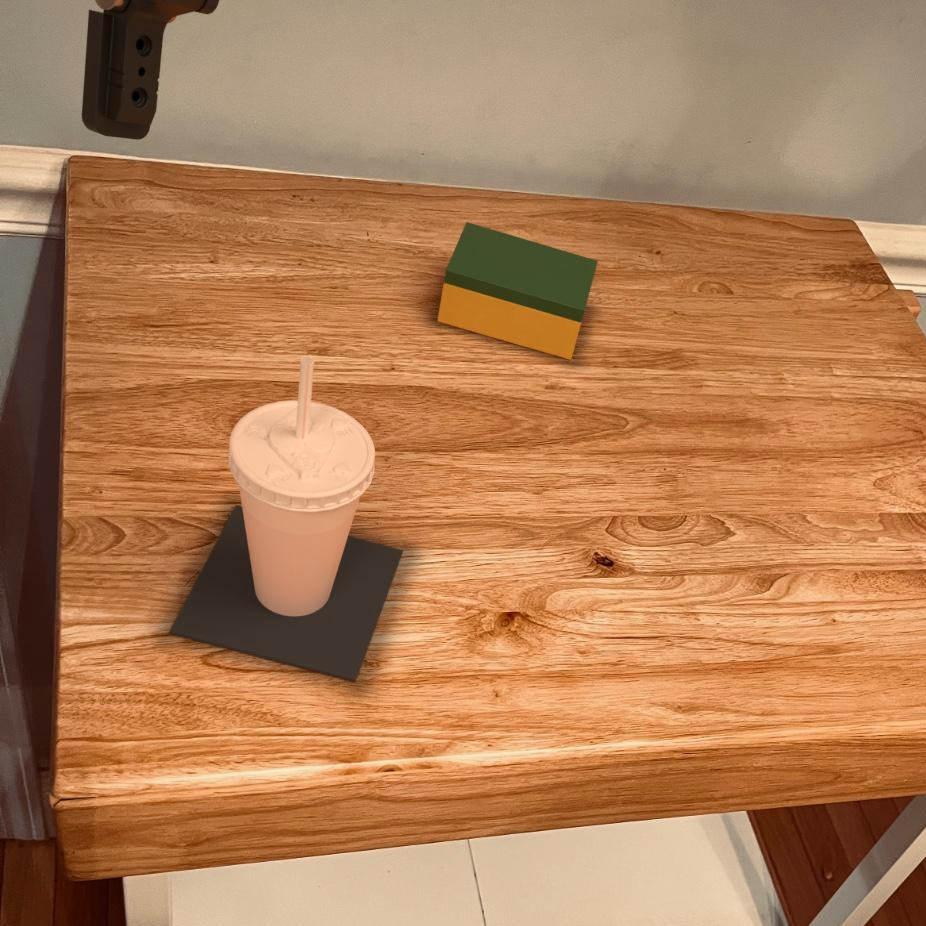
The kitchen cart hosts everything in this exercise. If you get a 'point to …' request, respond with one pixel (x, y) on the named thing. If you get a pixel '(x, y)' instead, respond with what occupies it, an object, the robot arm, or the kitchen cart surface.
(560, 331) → the scrubber
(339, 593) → the cloth
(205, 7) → the robot arm
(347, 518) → the smoothie
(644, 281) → the kitchen cart surface
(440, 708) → the kitchen cart surface
